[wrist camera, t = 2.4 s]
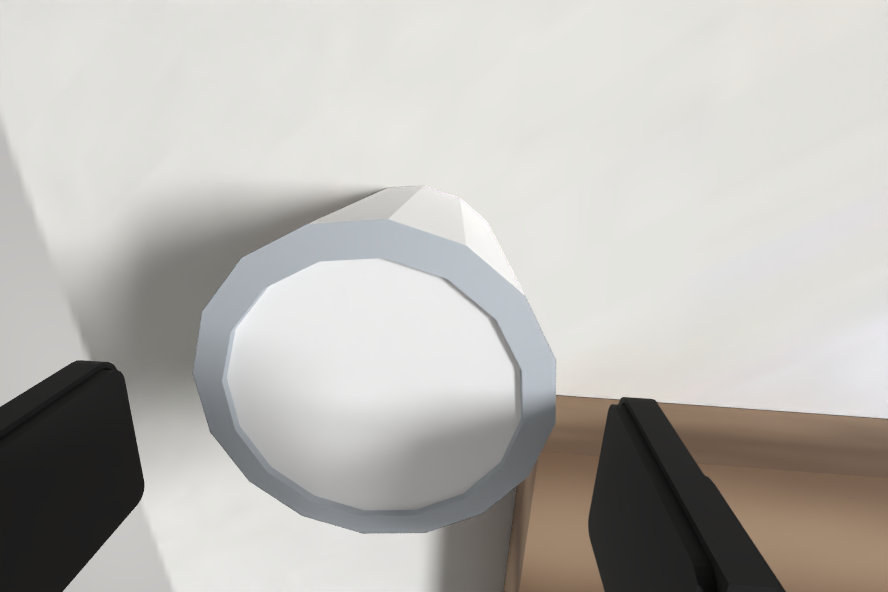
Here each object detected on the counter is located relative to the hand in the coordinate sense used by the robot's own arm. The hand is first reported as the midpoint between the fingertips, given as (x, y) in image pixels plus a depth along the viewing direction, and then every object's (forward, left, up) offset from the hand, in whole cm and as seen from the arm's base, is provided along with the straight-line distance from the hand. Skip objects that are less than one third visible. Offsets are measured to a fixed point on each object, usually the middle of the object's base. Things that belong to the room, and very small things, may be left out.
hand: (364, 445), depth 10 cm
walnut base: (+9, +10, -7) cm, 15 cm away
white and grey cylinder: (-1, 0, -7) cm, 7 cm away
